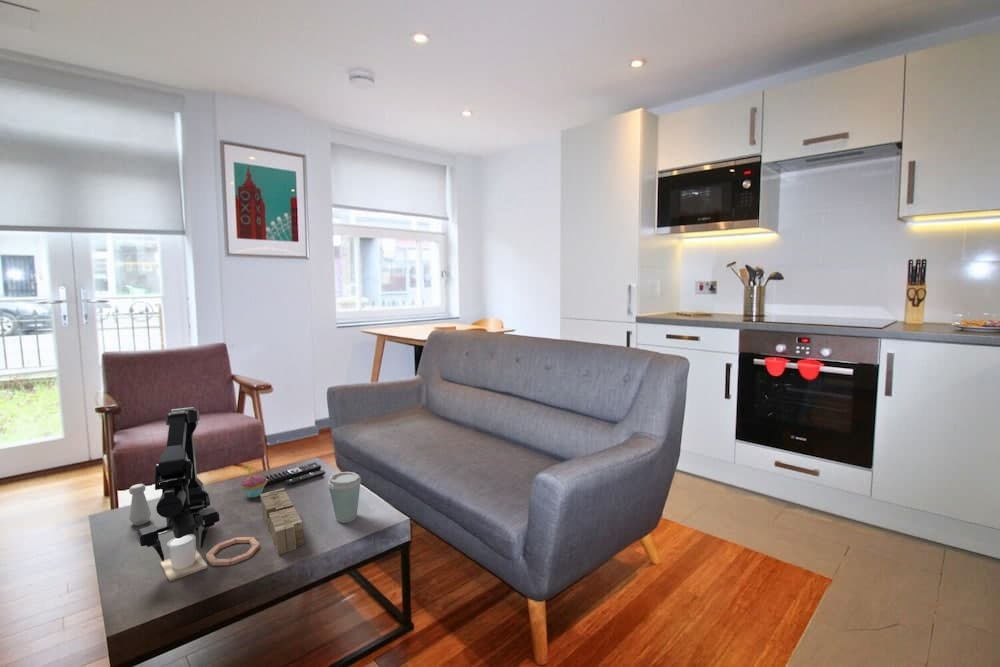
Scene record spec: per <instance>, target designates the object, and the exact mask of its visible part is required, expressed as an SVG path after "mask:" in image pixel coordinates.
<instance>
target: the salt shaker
mask: <svg viewBox="0 0 1000 667" xmlns="http://www.w3.org/2000/svg"><path fill="white" fill-rule="evenodd" d="M145 491H146V485H145V484H144V483H138V484H133V485H132V486H130V487H129V488H128V492H129V494H130V495H132V496H131V501H130V502H131V503H130V509H129V510H130V511H129V517H128V518H129V521H130V522H131V523H132V525H133V526H135V527H136V526H138V527H139V526H143V525H145V524H147V523H148V522H149V521H150V518H151V516H152V512H151V509H150V506H149V503H148V499H147V497H146V495H145Z"/></svg>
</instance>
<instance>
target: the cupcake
mask: <svg viewBox="0 0 1000 667" xmlns="http://www.w3.org/2000/svg"><path fill="white" fill-rule="evenodd" d="M246 467H247V471H248V475H249V476H248V477H246V478H245V479H243V481H242V482H241V483H240V486H241V488H242V490H244V492H245V493H246V495H247V497H248V498H250V499H251V498H256V497H257V498H258V497H260V494H263V490H264V487H265V486H266V485H267V483H268V480H267V477H266V476H263V475H259V474H256V475H252V472H251V468H250V465H249V464H248V463H247V466H246Z"/></svg>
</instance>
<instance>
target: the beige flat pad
mask: <svg viewBox="0 0 1000 667" xmlns="http://www.w3.org/2000/svg"><path fill="white" fill-rule="evenodd" d="M159 563H160V566H161V568H162V570H163V572H164V573H165V576H166V577H167V579H168V582H170V583H171V582H174V581H176V580H178V579H182V578H184V577H186V576H188V575H191V574H195V573H196V572H199V571H202V570H205V569H207V568H208V564H207V562H206V561H205V560H204V559H203V556H202V555H201V553H200V552H199V551H198V549H197V548H196V560H195V562H194V563H193V564H192V565H191V566H189V567H186V568H183V569H173V568H172V565H171V560H170V557H169V558H165V559H164V561H162V560H161V561H159Z"/></svg>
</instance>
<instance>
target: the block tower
mask: <svg viewBox="0 0 1000 667" xmlns="http://www.w3.org/2000/svg"><path fill="white" fill-rule="evenodd" d="M259 498H260V501H261V512H262V519H263V521H264V523H265V525H266V527H267V531H268V532H269V535H270V537H271V540H272V542H273V546H274V548H275V550H276V554H277V555H279V556H280V555H281V554H284V553H285V552H286V553H287V551H289V552H291V550H292V551H294V549H295V550H297V547H300V546H303V545H305V540H304V532H303V529H304V528H303V521H302V519H301V517H300V515H299V514H298V512H297V510H296V508H295V506H294V504H293V503H292V500H291V499H290V497H289V495H288V494H287V492H286V491H285V487H283V488H279V489H276V490H271V491H268V492H262V494H260V496H259ZM302 544H303V545H302ZM299 545H300V546H299ZM286 553H285V554H286Z"/></svg>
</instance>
